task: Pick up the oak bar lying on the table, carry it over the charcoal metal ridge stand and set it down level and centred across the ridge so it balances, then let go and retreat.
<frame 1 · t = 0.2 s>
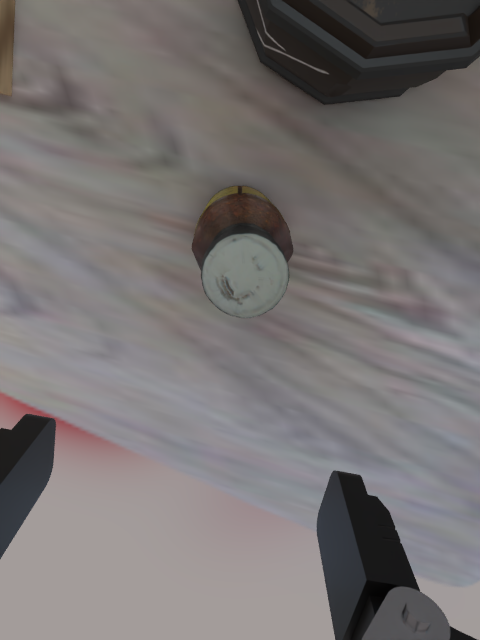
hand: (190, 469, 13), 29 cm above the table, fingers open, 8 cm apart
sauce bottle: (242, 221, 39), on the table
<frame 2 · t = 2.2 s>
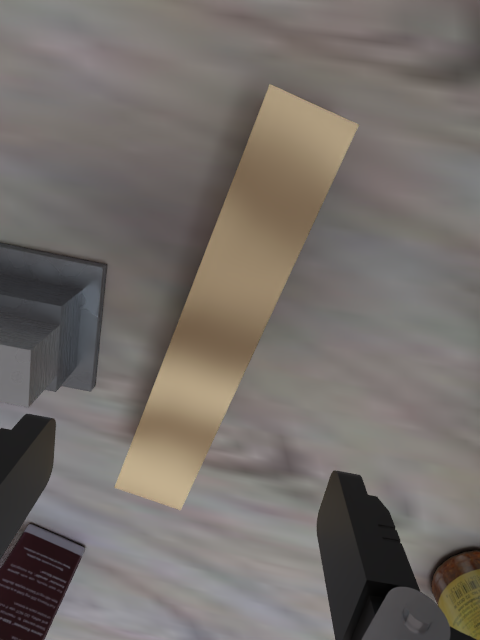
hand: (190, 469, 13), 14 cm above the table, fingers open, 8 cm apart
fulcrum: (1, 308, 27), on the table
supplement box: (38, 567, 34), on the table
sauce bottle: (471, 574, 33), on the table
oak bar: (224, 303, 27), on the table
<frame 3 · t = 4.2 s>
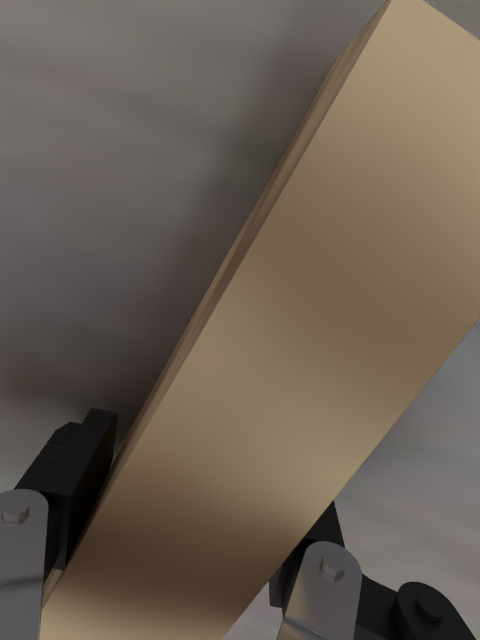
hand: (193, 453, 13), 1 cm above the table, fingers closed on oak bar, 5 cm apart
oak bar: (198, 433, 14), on the table, touching gripper
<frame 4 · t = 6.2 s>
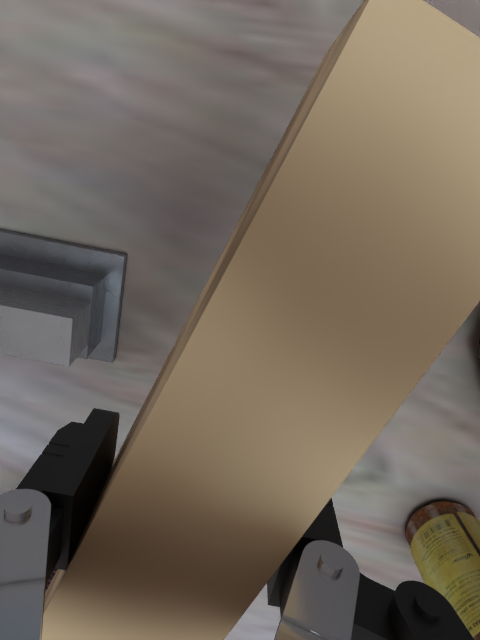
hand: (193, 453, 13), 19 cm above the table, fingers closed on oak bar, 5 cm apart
fulcrum: (37, 292, 32), on the table
sauce bottle: (440, 523, 38), on the table
oak bar: (198, 433, 14), point 18 cm above the table, touching gripper
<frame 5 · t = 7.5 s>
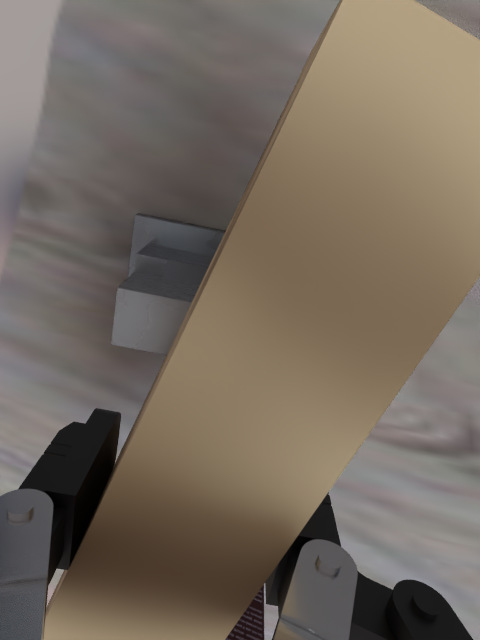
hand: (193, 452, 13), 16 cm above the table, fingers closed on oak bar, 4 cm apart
fulcrum: (223, 295, 29), on the table
supplement box: (212, 545, 36), on the table
oak bar: (198, 432, 14), point 15 cm above the table, touching gripper
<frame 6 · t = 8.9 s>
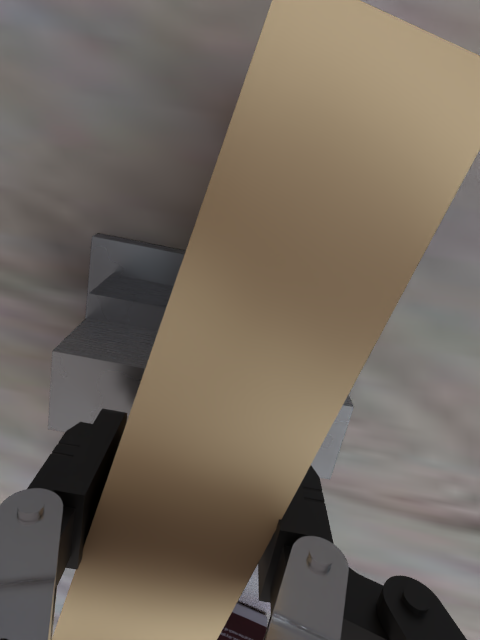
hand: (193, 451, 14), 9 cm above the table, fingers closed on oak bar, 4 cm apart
fulcrum: (214, 338, 22), on the table
supplement box: (203, 636, 29), on the table
oak bar: (201, 419, 15), point 7 cm above the table, touching fulcrum, gripper
when the fingers open (9 cm above the table, at t = 8.9 s): oak bar stays where it is, resting on fulcrum.
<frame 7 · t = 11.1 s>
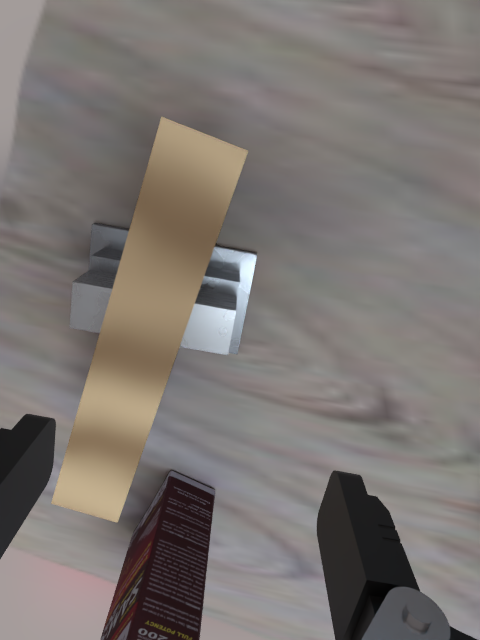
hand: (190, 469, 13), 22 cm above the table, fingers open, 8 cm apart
fulcrum: (169, 289, 34), on the table
supplement box: (172, 510, 41), on the table
oak bar: (154, 319, 28), point 7 cm above the table, touching fulcrum
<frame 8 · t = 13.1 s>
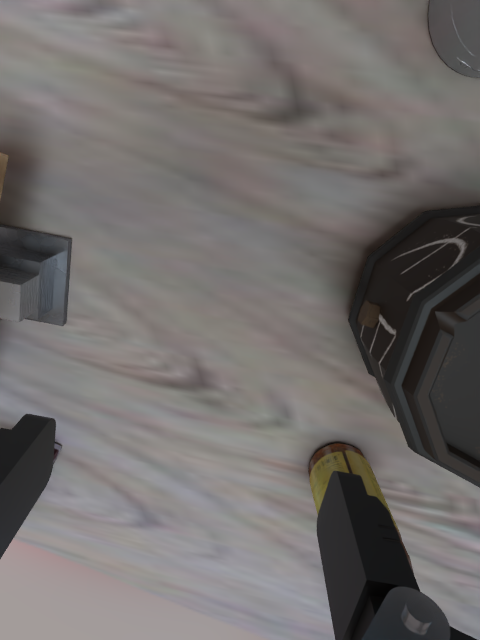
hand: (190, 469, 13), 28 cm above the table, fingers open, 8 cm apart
black chalkboard bucket: (438, 300, 40), on the table
fulcrum: (2, 269, 40), on the table
sauce bottle: (338, 463, 46), on the table
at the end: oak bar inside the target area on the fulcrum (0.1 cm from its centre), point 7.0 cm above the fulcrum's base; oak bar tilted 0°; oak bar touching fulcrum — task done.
